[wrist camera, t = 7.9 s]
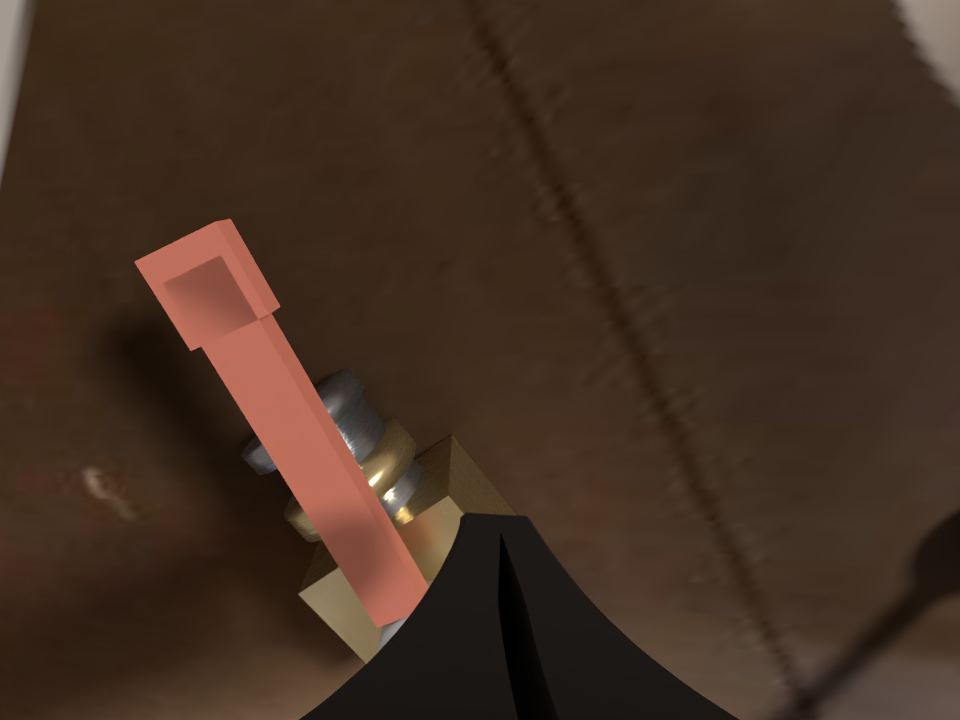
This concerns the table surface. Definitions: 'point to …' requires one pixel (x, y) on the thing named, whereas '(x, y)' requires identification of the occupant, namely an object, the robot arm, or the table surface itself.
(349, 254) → the table surface
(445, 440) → the valve pipe
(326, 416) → the lever
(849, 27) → the table surface
